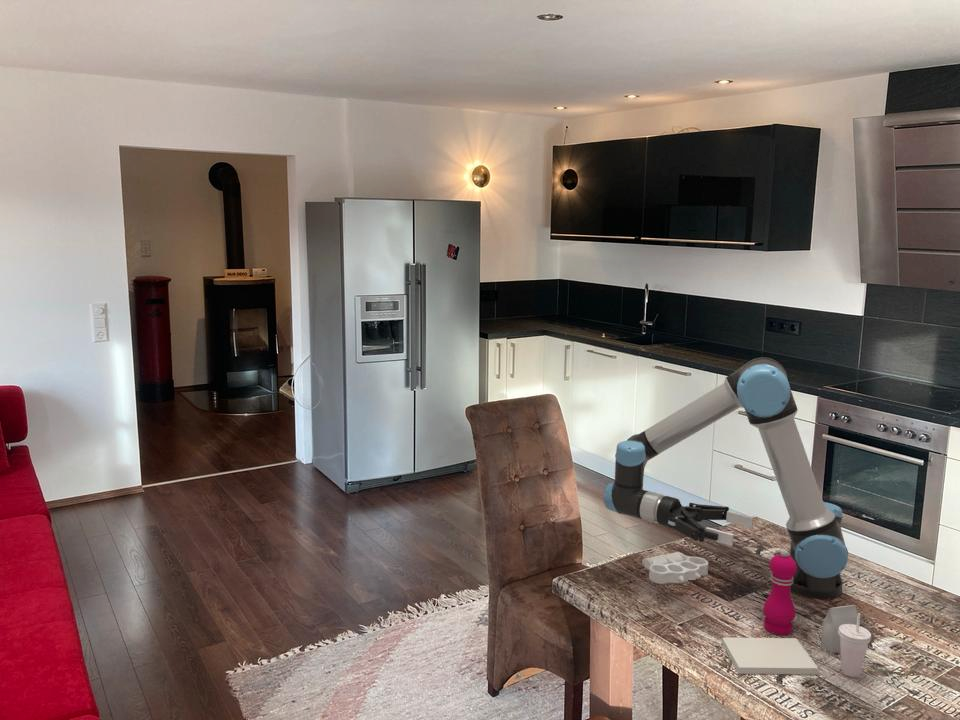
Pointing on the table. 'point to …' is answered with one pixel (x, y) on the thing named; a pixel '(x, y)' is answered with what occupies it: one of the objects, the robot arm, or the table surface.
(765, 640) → the cutting board
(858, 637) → the smoothie
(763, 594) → the table surface
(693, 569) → the knuckle duster
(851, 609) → the tea bag
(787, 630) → the pepper mill
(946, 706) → the table surface
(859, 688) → the table surface
